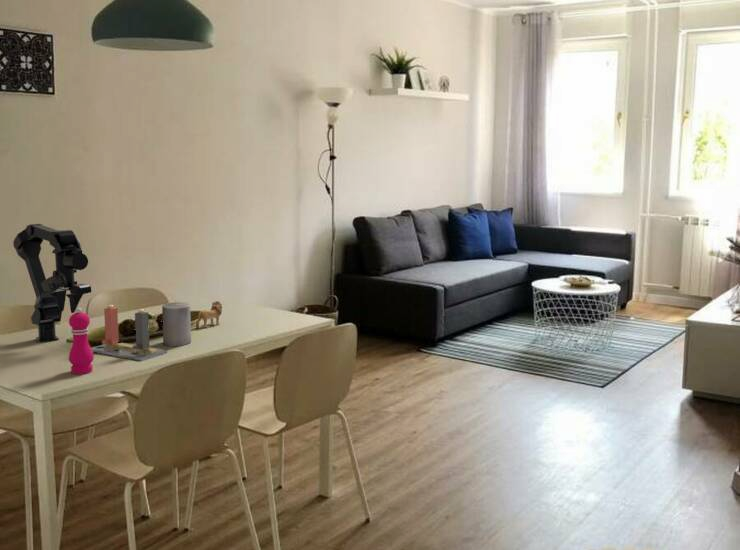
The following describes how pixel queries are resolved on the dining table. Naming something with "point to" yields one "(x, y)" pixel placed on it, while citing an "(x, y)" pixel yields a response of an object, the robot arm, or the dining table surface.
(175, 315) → the pillar candle
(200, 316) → the lion figurine
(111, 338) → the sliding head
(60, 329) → the dining table surface
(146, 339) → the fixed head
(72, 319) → the pepper mill
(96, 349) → the bolt plate
